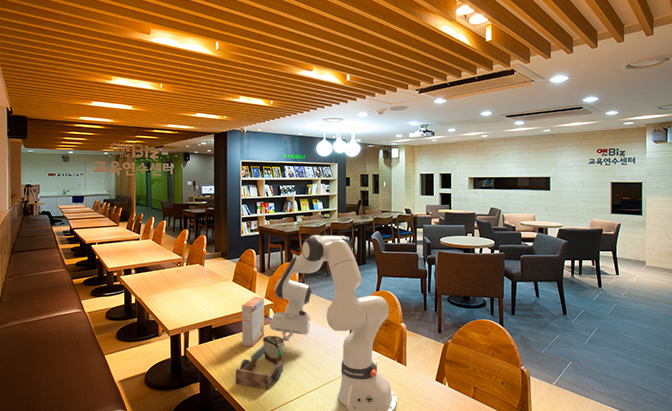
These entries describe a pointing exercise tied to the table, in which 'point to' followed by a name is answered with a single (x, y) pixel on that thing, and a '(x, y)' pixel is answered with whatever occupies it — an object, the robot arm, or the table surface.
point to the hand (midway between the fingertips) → (285, 340)
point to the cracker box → (253, 321)
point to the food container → (273, 349)
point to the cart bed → (256, 375)
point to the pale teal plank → (258, 353)
